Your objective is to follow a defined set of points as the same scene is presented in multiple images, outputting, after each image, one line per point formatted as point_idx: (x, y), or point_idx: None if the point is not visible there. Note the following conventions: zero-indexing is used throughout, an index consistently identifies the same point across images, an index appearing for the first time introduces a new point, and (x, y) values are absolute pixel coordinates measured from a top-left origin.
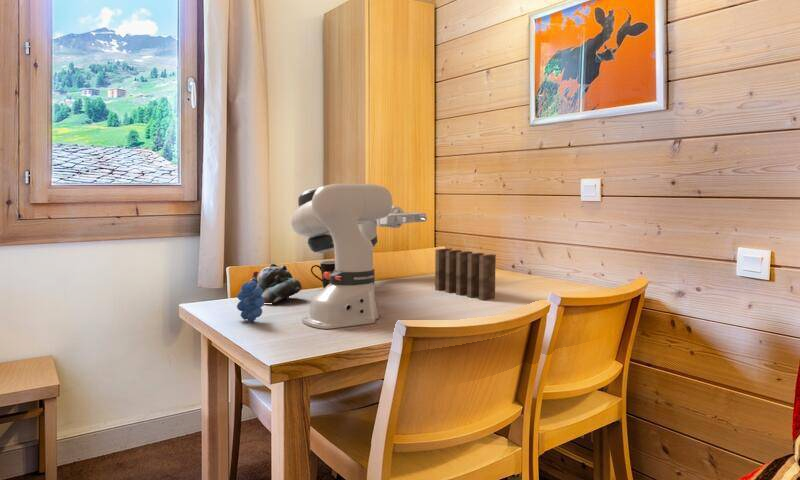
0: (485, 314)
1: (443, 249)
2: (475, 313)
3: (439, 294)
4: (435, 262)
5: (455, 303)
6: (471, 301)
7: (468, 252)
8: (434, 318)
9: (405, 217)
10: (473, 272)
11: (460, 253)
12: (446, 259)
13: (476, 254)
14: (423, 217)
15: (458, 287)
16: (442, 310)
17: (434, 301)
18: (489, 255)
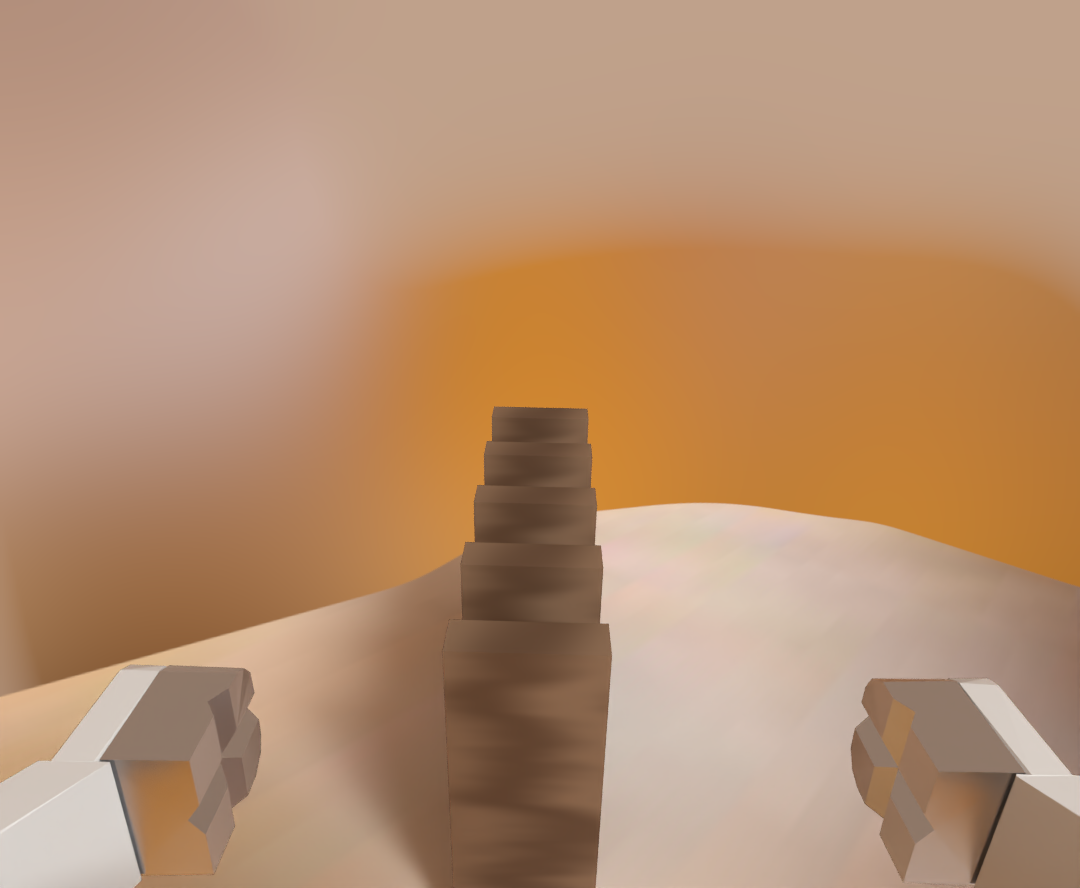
0: (730, 509)
1: (543, 624)
2: (753, 526)
3: (670, 796)
4: (603, 756)
5: (728, 626)
6: (635, 614)
7: (514, 489)
8: (931, 549)
9: (978, 688)
10: None
11: (592, 491)
12: (599, 621)
13: (549, 445)
14: (240, 698)
15: None
16: (851, 589)
17: (804, 695)
18: (541, 408)
